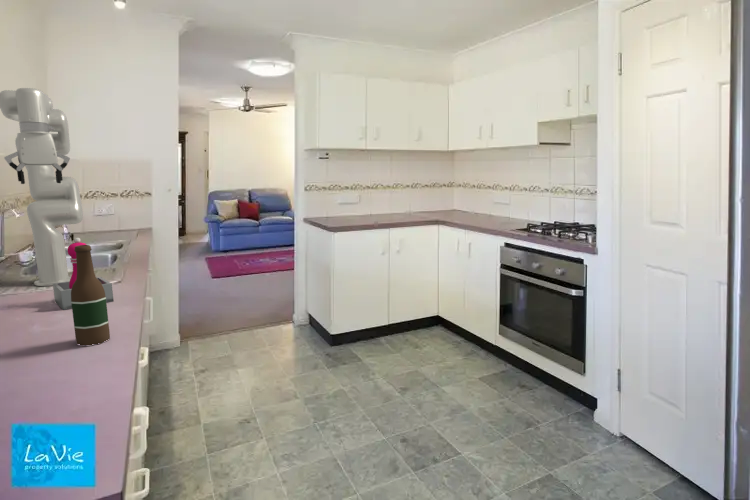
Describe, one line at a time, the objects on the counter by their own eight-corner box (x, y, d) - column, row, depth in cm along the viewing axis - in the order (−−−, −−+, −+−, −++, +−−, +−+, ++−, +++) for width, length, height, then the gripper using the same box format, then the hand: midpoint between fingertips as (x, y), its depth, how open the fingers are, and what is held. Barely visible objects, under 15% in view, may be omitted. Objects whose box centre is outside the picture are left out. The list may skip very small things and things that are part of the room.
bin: (54, 301, 156) (52, 283, 155) (102, 293, 165) (100, 276, 164) (63, 310, 146) (60, 291, 145) (113, 301, 155) (111, 283, 154)
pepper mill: (84, 301, 151) (77, 239, 148) (65, 300, 153) (58, 238, 149) (101, 296, 158) (95, 236, 155) (82, 295, 160) (76, 236, 156)
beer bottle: (101, 333, 123) (91, 242, 119) (117, 339, 119) (107, 244, 115) (69, 342, 117) (57, 246, 113) (84, 349, 113) (72, 249, 109)
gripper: (64, 131, 160) (69, 182, 162) (-1, 128, 148) (6, 184, 151) (68, 129, 154) (74, 182, 157) (1, 126, 143) (9, 184, 145)
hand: (41, 183), depth 154 cm, fingers open, 9 cm apart
